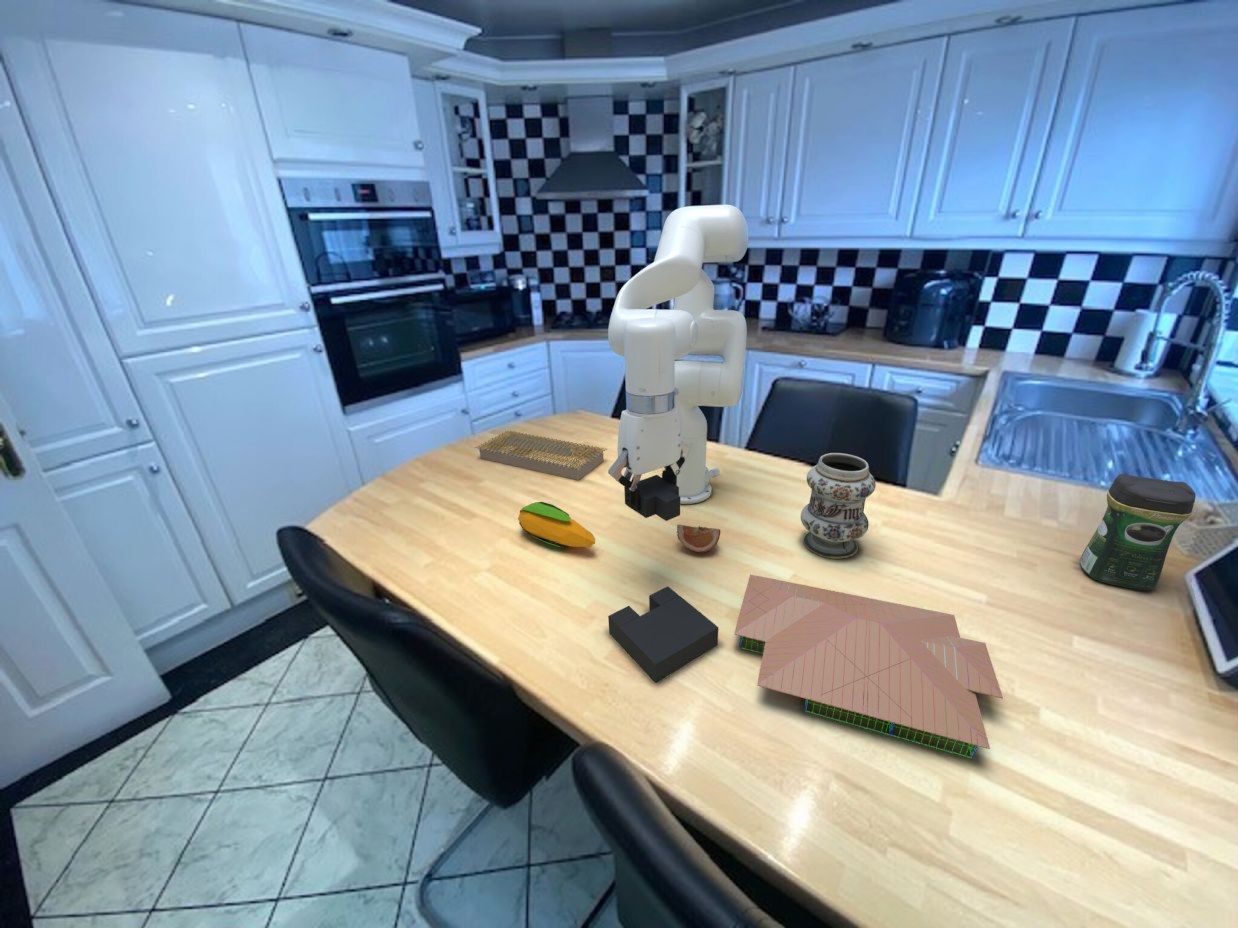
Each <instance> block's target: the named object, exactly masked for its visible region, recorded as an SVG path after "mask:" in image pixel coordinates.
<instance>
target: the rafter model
mask: <svg viewBox="0 0 1238 928" xmlns="http://www.w3.org/2000/svg"><path fill="white" fill-rule="evenodd" d="M474 449H476V450H479V456H480V459H482V460H486V461H492V462H496V463H500V464H505V465H510V466H514V467H518V468H523V469H526V470H530V471H531V470H532V471H535V472H540V473H545V474H550V475H553V476H558V477H562V478H567V479H571V480H576V481H580V480H581V479H582V478H584V477H585V476H586V475H587V474H589V473H590V472H592V471H593V470H594V469H595V468H597V467H598V466H599V465H601V464H602V463H603V462H604V452H606V451H607V450H608V448H604V447H599V446H593V445H590V444H582V443H578V442H573V441H566V440H561V439H557V438H550V437H545V436H538V435H535V434H529V433H524V432H519V431H515V430H513V431H512V430H507V431H506V430H505V431H504V432H501V434H498V435H497V436H494V437H491V439H488V440H487V441H484V443H480V444H479V445H476V446H475V447H474ZM553 456H554V457H553Z"/></svg>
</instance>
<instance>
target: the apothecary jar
mask: <svg viewBox="0 0 1238 928" xmlns="http://www.w3.org/2000/svg"><path fill="white" fill-rule="evenodd" d="M869 465H870V464H869V463H868V462H867V461H866V460H865V459H863V458H861V457H859V456H857V455H853V454H848V453H843V452H830V453H825V454H823V455H821V456H820V457H819V458H818V463H817V464H816V465H814V466H812V467H811V468H810V469H809V470H808V472H807V473H806V483H807V485H808V487H809V488H810V489H811V491H810V497H809V502H808V503H807V504H806V505H804V507H803V508H802V509H801V511H800V522H801V524H802V525H803V527H804V528H805V529H806V530H807V531H808V532H807V533H806V534H805V535H804V537H803V545H804V546H805V547H806V548H807V550H809V551H810V552H811V553H814V554H815V555H817V556H819V557H822V558H826V559H827V558H828V559H835V560H840V559H848V558H851V557H853V556H854V555H855V554H857V553H858V549H859V546H858V544H857V542H856V541H855V540H858V539H860V538H862V537H863V536H865V534H866V533H867V531H868V530H869V525H870V524H869V519H868V517H867V514H865V504H866V499H867V498H869V497H870V496H871V495H873V493H874V492H875V490H876V486H877V483H876V480H875V478H874V476H873V475H872V474H871V472H870V467H869Z"/></svg>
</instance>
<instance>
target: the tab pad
mask: <svg viewBox="0 0 1238 928" xmlns="http://www.w3.org/2000/svg"><path fill="white" fill-rule="evenodd" d="M623 488H624V493H625V487H624V486H623ZM637 489H639V490H640V511H638V512H636V513H637V514H639V515H640V516H641V517H643V518H645V519H648V518H650V517H653V516H655V515H656V516H657V517H659V518H661V519H662V520H663V521H665V522H668V521H670V520H672V519H675V518H678V517H679V516H681V504H680V496H679V487H678V486H676V485H674V484H672V483H671V482H669V481H667V480H665V479H663V478H662V476H660V475H658V474H655V475H652V476H649V477H646V478H643V479H640V481H639V483H638V486H637ZM624 505H626V502H625V501H624Z"/></svg>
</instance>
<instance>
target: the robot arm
mask: <svg viewBox="0 0 1238 928" xmlns="http://www.w3.org/2000/svg"><path fill="white" fill-rule="evenodd" d="M662 227H663V228H662V231H661V234H660V238H659V241H658V246H657V249H656V253H655V256H654V260H653V262H652V263H650V264H649V265H646V267H644V268H642V269H641V270H640V271H639V272H637V273H636V274H635V275H633V276H631V278H630V279H628V281H626V282H625V283H624V284H623V286H622V287H621V289H620V290H619V291H618V294H617V296H616V298H615V301H614V305H613V307H612V311H611V314H610V318H609V322H608V329H607V339H608V344H609V346H610V349H611V350H612V351H613V352H614V353H615V354H617V355H618V356H621V357H624V376H625V380H624V381H625V404H626V405H625V408H626V409H625V410H624V409H623V410H622V411H621V415H620V419H619V424H618V425H619V426H618V434H617V435H618V436H617V458H616V459H615V461H614V462H613V463H612V465H610V467H609V468H608V470H607V474H608V475H609V476H610V477H612V478H613V480H615V481H616V482H617V483H618V484H620V485H622V486H623V488H624V487H625V492H624V503H625V502H626V504H625V506H627V507H628V508H630V509H631V510H632V511H634V512H636V513H637V512H638V511H640V490H639V489H637V486H638V483H639V481H640V480H641V478H642V476H643V475H645V474H647V473H650V472H653V471H656V470H659V469H663V468H664V470H662V472H661V477H662V478H663V479H665V480H667V481H669V482H671V483H672V484H674V485H676V486H678V487H679V496H680V505H690V504H691V505H692V504H698V503H701V502H704V501H706V500H707V499H709V498H710V496H711V495H712V490H713V489H712V485H711V484H710V482H709V481H711V480H712V478H715V477H718V476H720V473H721V471H720V469H719V468H717V467H715V468H713V469H710V470H709V468H708V467H707V439H708V423H707V421H708V420H707V419H706V416H705V414H704V413H703V411H702V410H701V409H700V407H715V408H716V407H718V408H731V407H735V406H736V405H738V403H739V402H740V400H741V397H742V393H743V387H744V375H745V365H746V364H745V363H746V351H747V337H748V336H747V334H748V328H747V327H748V326H747V321H746V318H745V316H744V314H743V313H742V312H740V311H738V310H733V309H714V304H715V292H716V289H715V284H714V283H713V281H712V280H711V277H709V275H708V274H707V273H706V271H705V270H704V269H703V264H704V263H736V262H739V261H741V260H742V259H743V258H744V256H745V255H746V252H747V249H748V246H749V226H748V222H747V220H746V218H745V216H744V214H743V212H742V211H741V209H739V208H738V207H736V206H735V205H732V204H711V205H710V204H708V205H707V204H706V205H689V206H682V207H679V208H676V209H675V210H673V211H672V212H670V213H669V215H667V217H666V219H665V222H664V224H663V226H662ZM671 300H673V309H659V308H653V309H651V307H653V306H657V305H660V304H662V303H666V302H668V301H671ZM686 356H711V357H720V358H722V359H723V361H716V360H715V361H714V360H712V361H711V360H695V359H694V360H690V359H683V358H685V357H686ZM681 359H682V360H681ZM624 468H625V470H624V473H623V474H622V471H623V469H624Z"/></svg>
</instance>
